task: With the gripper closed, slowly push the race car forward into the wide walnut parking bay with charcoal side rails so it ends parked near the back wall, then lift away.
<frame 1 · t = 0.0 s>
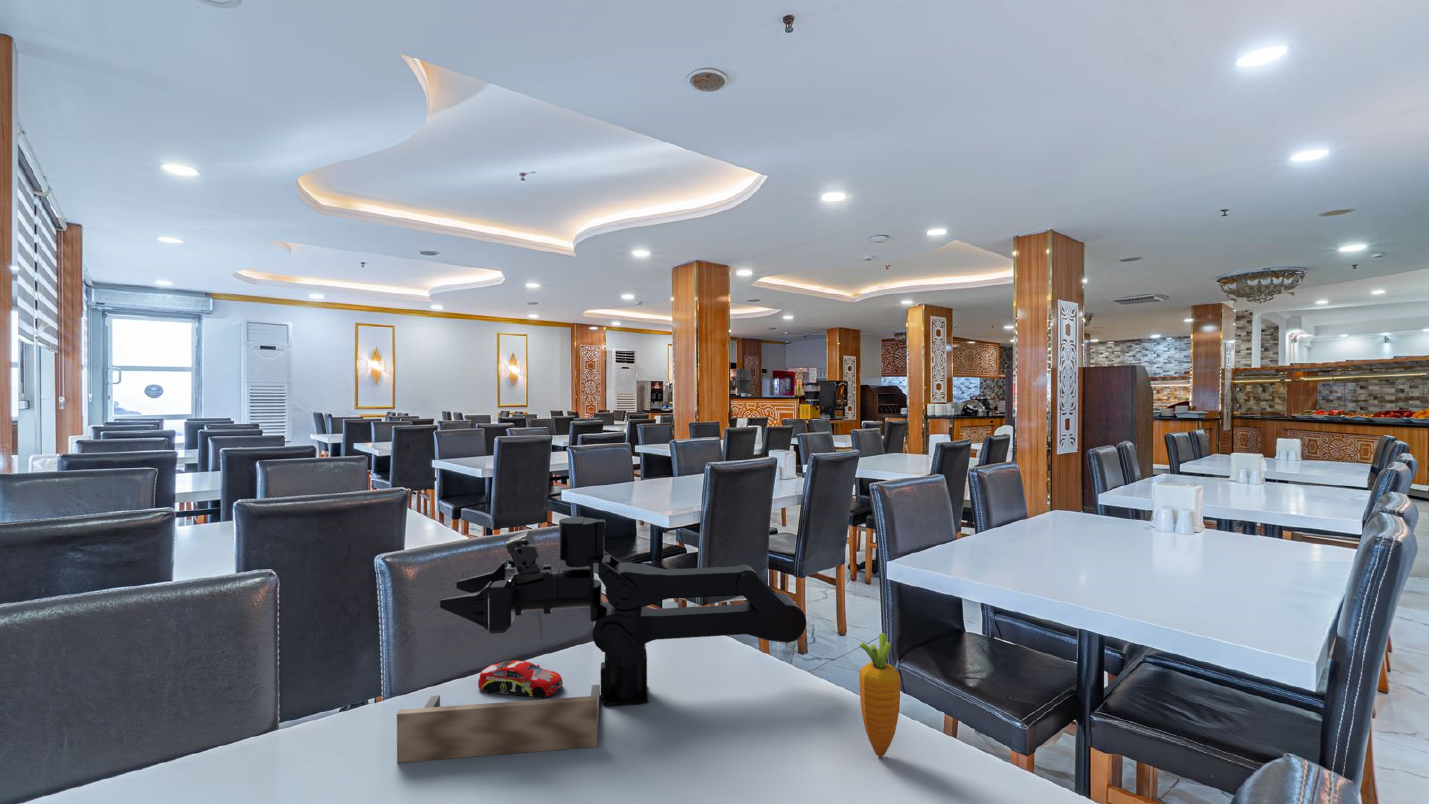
hand: (448, 593, 94), 17 cm above the table, tool horizontal, fingers open, 9 cm apart
carrot: (879, 758, 81), on the table
parking bay: (508, 727, 89), on the table
race car: (521, 691, 100), on the table
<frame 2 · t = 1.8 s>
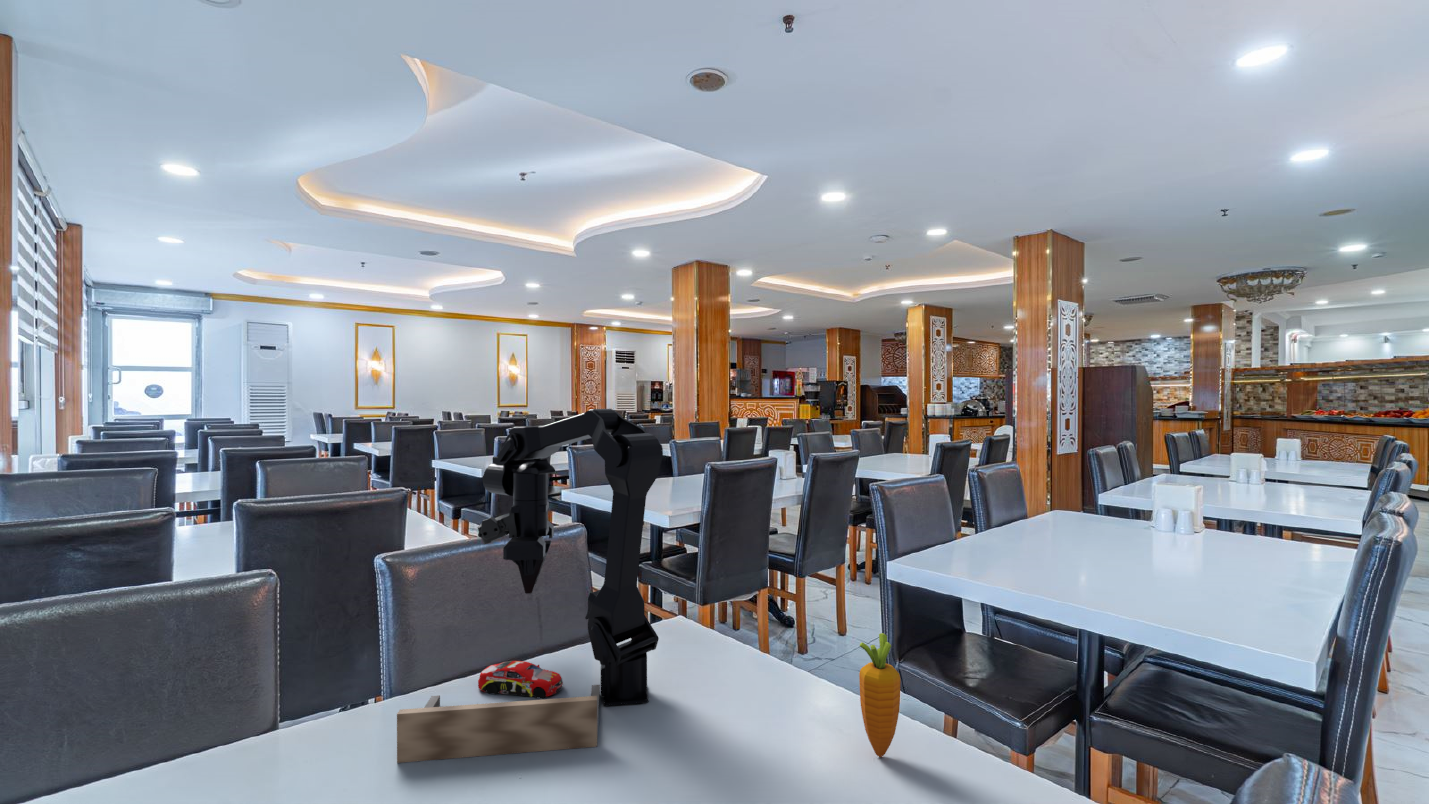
hand: (530, 588, 112), 12 cm above the table, tool pointing down, fingers open, 5 cm apart
nothing on the table moved.
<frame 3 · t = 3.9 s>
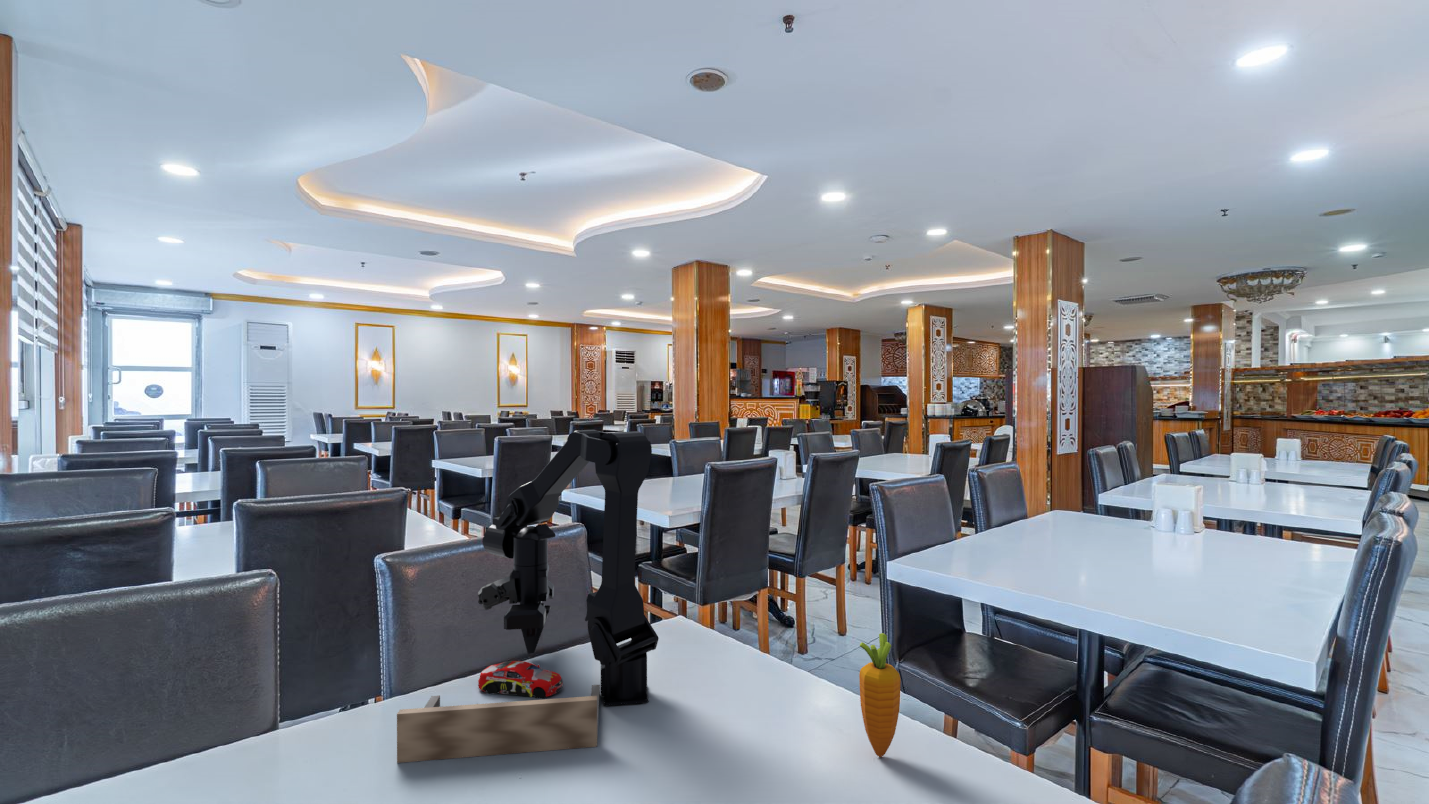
hand: (531, 652, 112), 1 cm above the table, tool pointing down, fingers closed
nothing on the table moved.
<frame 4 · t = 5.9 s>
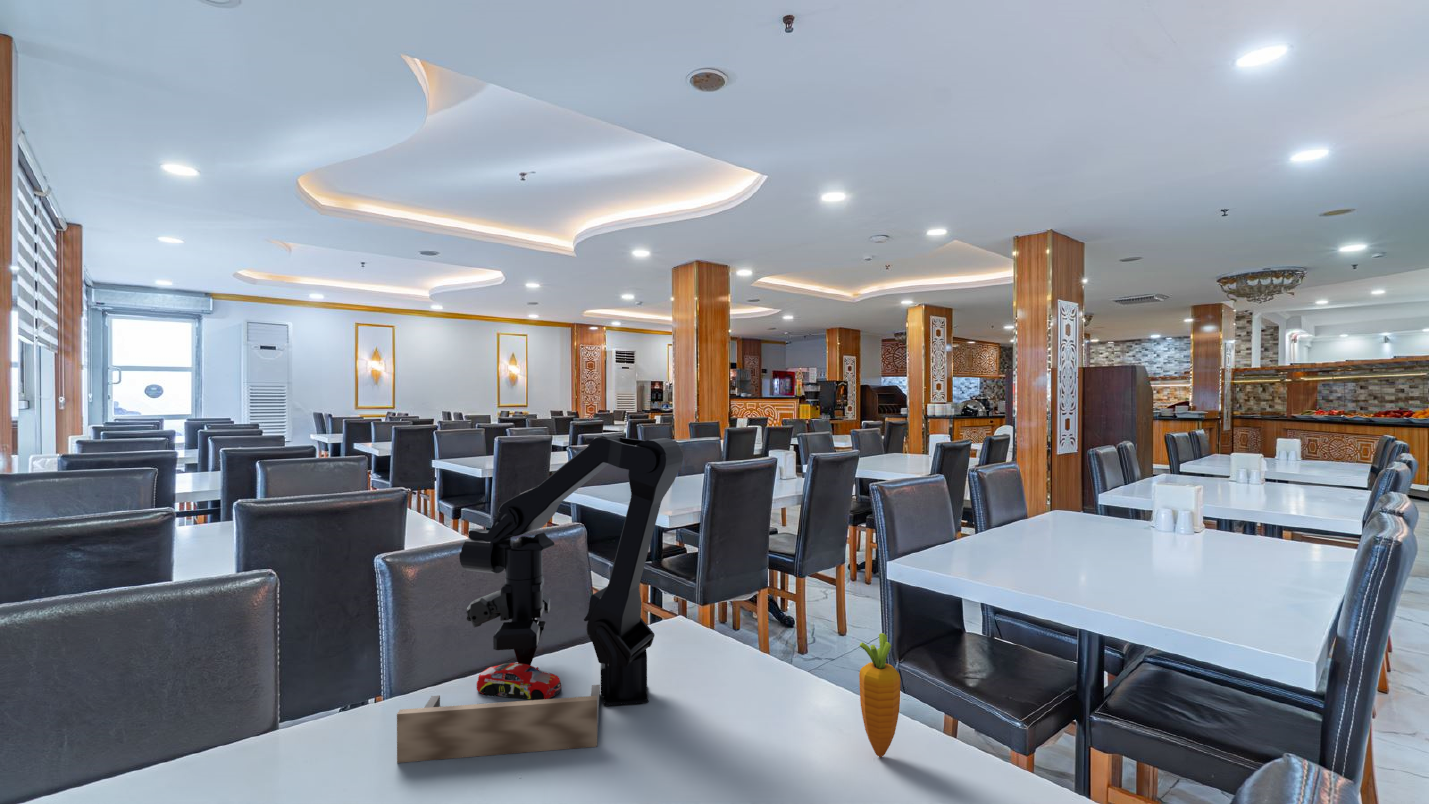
hand: (524, 672, 104), 1 cm above the table, tool pointing down, fingers closed
race car: (519, 694, 100), on the table, touching gripper
everything else where it was.
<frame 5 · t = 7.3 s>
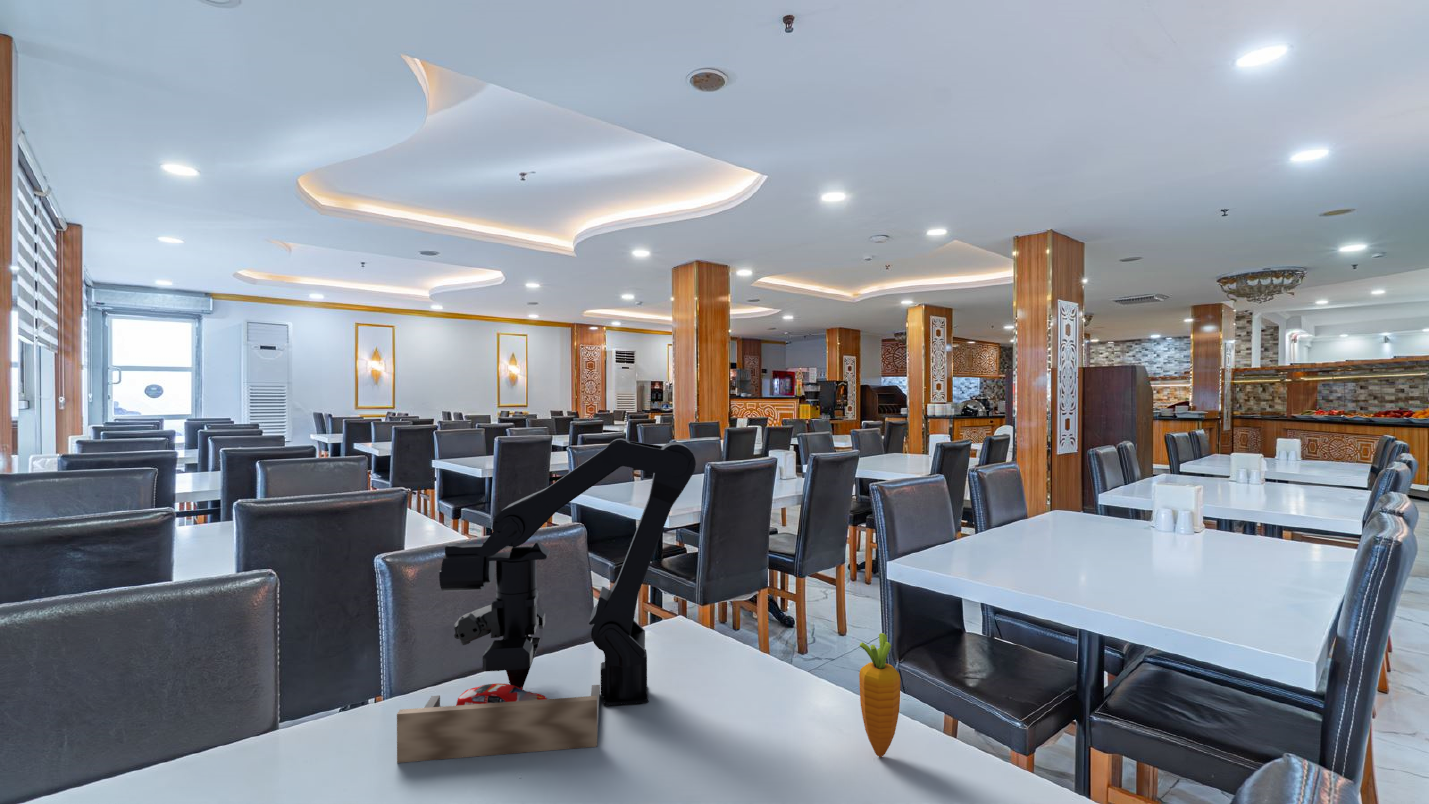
hand: (517, 693, 96), 1 cm above the table, tool pointing down, fingers closed
race car: (503, 717, 92), on the table
everything else where it was.
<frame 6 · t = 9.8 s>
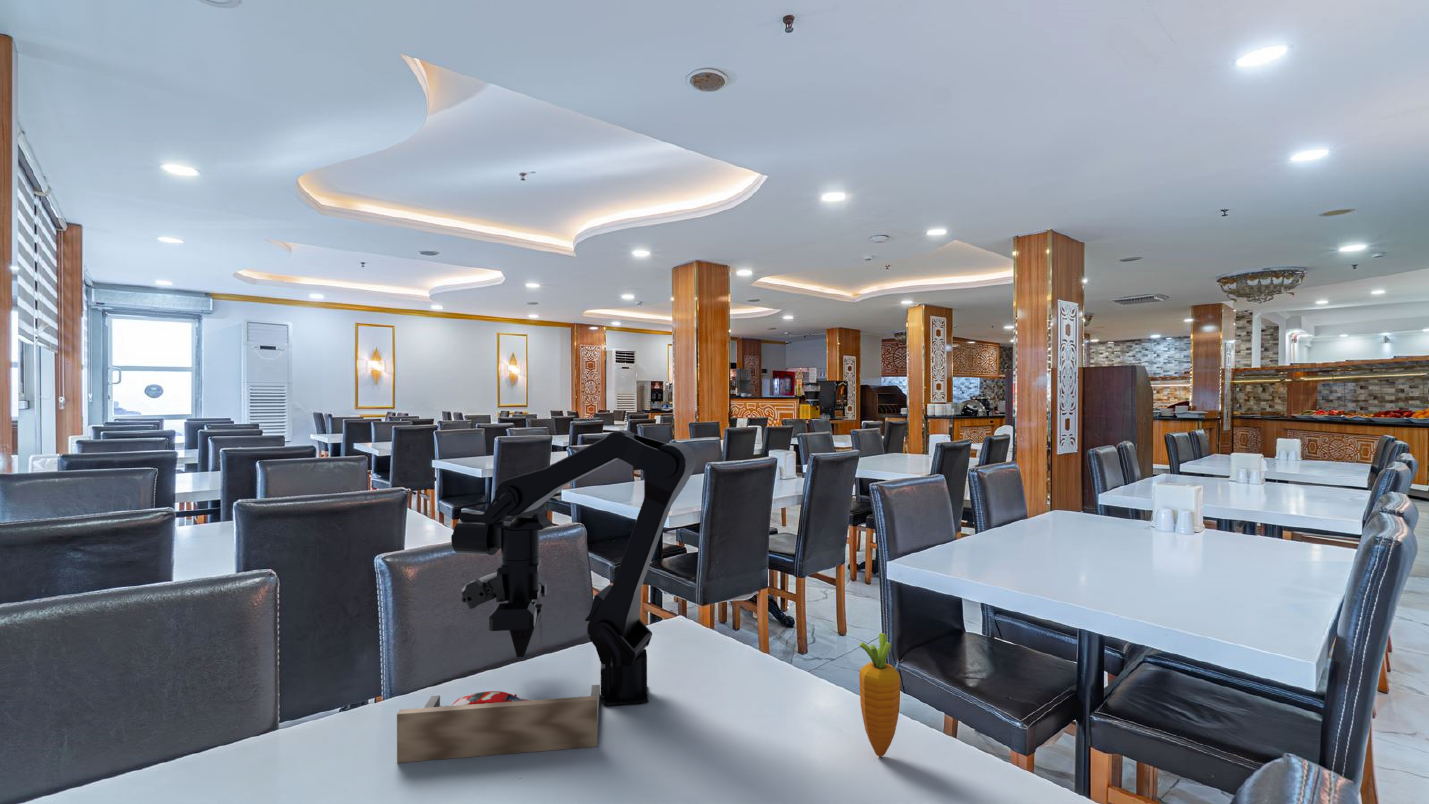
hand: (520, 656, 101), 5 cm above the table, tool pointing down, fingers closed
race car: (497, 726, 90), on the table
everything else where it was.
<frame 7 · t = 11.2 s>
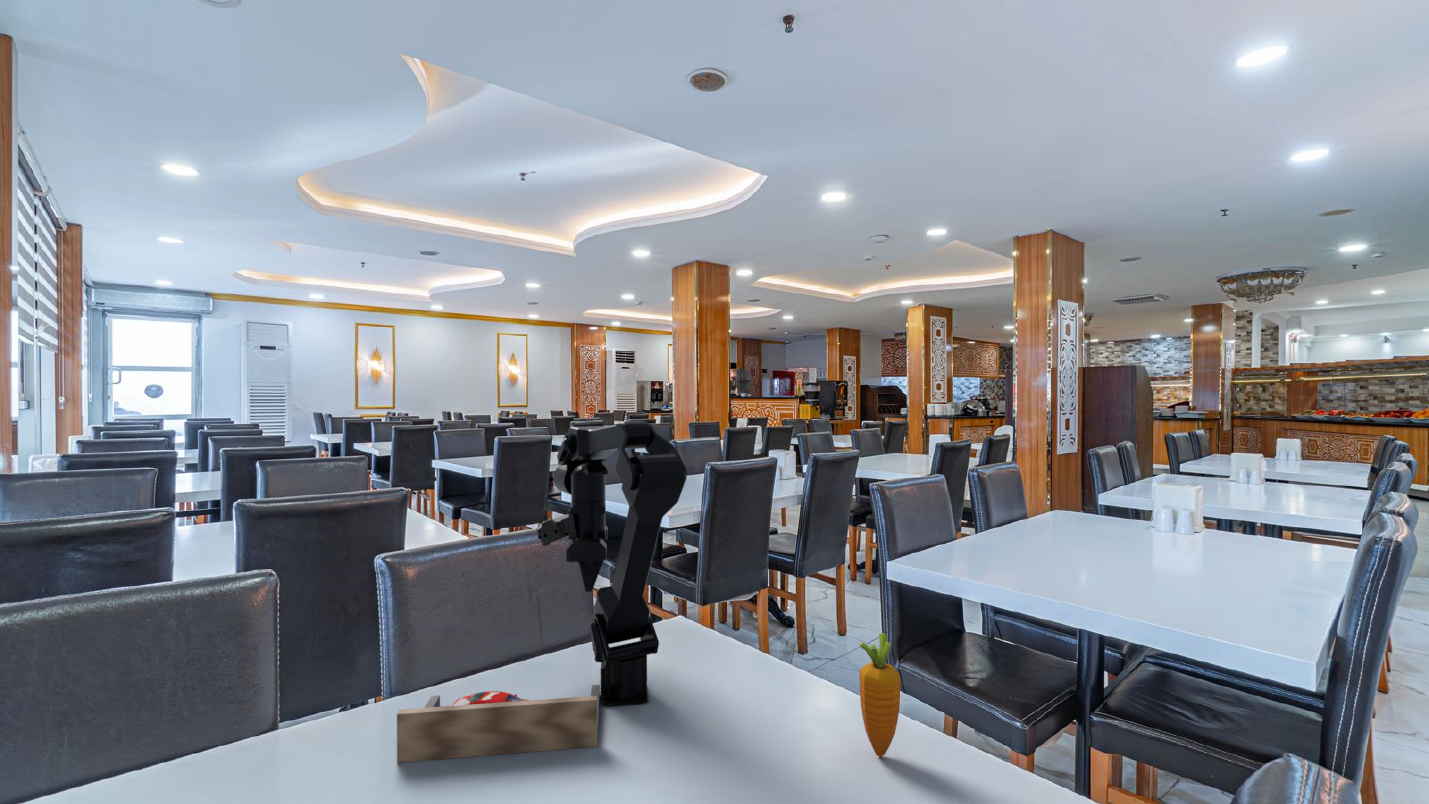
hand: (588, 591, 111), 12 cm above the table, tool pointing down, fingers closed
nothing on the table moved.
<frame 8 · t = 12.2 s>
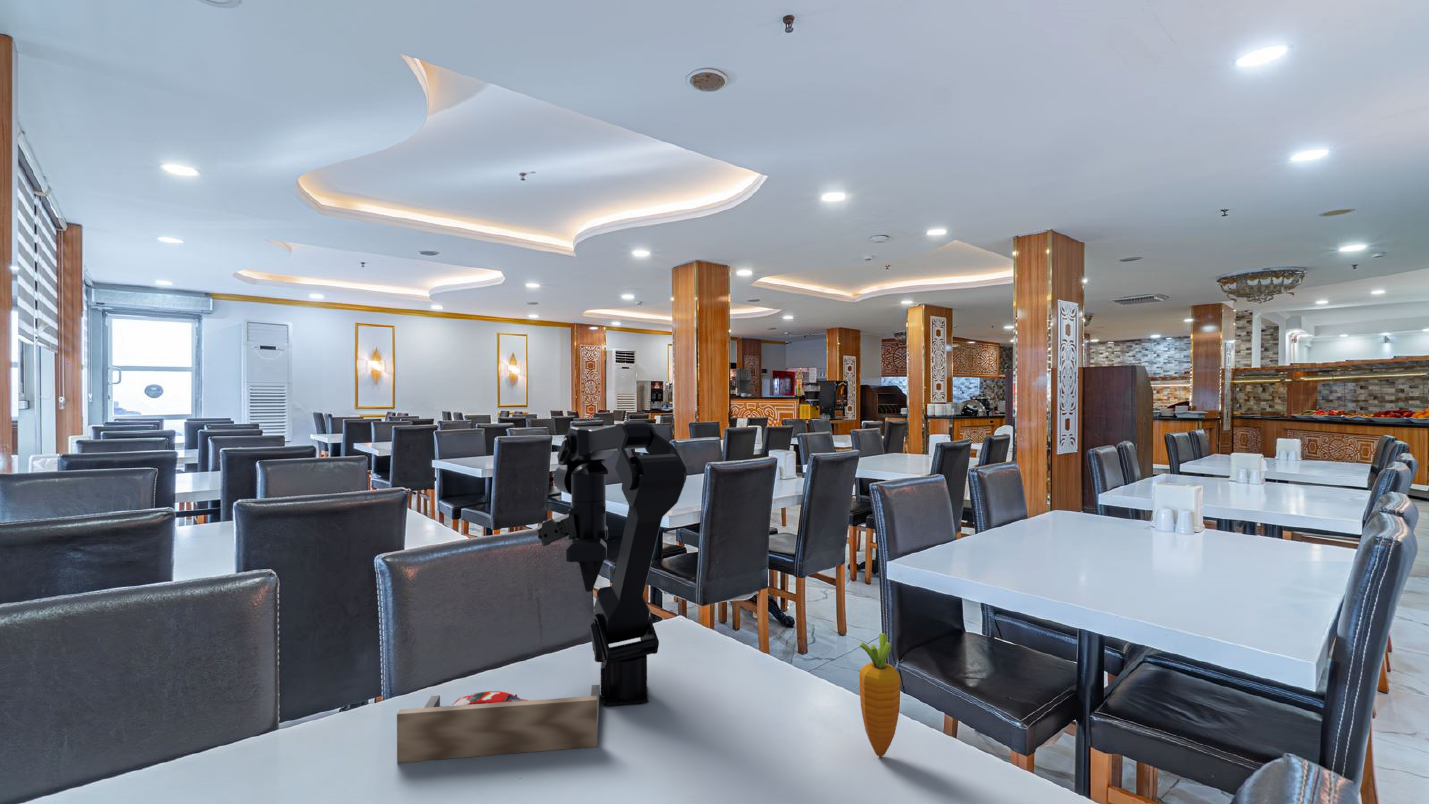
hand: (589, 591, 111), 12 cm above the table, tool pointing down, fingers closed
nothing on the table moved.
at the end: race car inside the target area (1.9 cm from its centre), on the table; race car tilted 0° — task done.
